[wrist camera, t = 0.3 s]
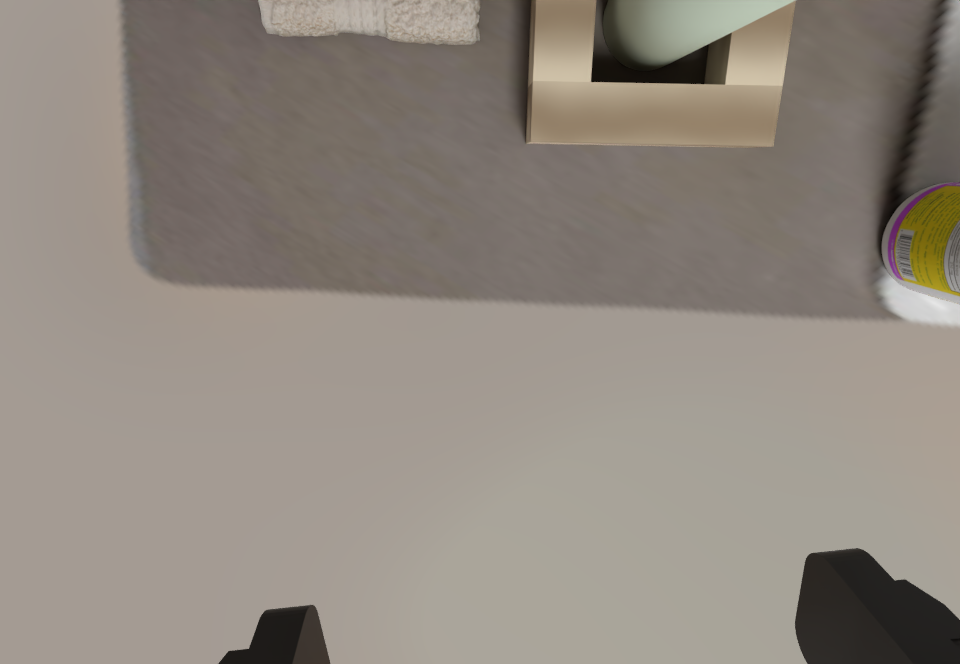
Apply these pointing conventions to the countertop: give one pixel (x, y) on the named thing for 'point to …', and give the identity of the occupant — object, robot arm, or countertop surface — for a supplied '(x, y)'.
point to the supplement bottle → (926, 242)
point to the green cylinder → (674, 27)
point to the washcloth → (376, 19)
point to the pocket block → (653, 87)
